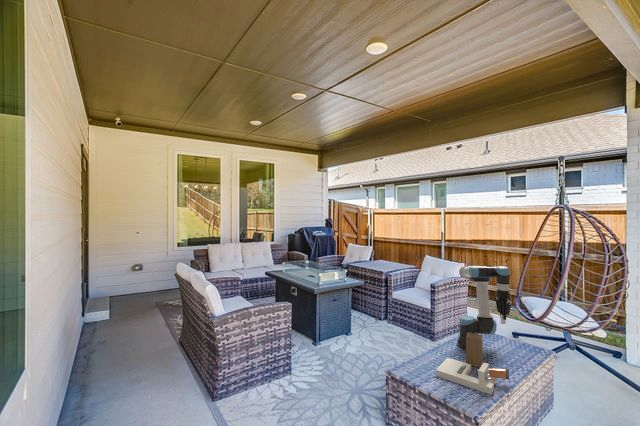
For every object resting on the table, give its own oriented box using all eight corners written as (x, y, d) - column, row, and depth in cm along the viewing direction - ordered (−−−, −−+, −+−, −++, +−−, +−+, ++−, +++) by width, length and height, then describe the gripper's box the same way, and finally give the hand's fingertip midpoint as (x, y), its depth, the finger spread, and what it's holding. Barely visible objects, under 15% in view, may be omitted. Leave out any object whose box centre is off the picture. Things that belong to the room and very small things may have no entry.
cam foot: (479, 384, 194) (479, 370, 194) (475, 376, 203) (475, 363, 203) (511, 387, 190) (511, 373, 190) (505, 379, 200) (505, 365, 200)
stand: (447, 363, 222) (447, 347, 222) (499, 379, 201) (499, 361, 201) (436, 375, 206) (436, 358, 206) (491, 394, 184) (491, 375, 184)
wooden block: (467, 358, 228) (467, 331, 228) (482, 361, 223) (482, 334, 223) (466, 364, 220) (465, 336, 220) (481, 368, 215) (481, 339, 214)
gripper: (491, 287, 216) (491, 320, 216) (506, 292, 203) (506, 327, 204) (499, 286, 218) (500, 319, 218) (515, 291, 205) (515, 326, 205)
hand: (503, 323), depth 211 cm, fingers closed
